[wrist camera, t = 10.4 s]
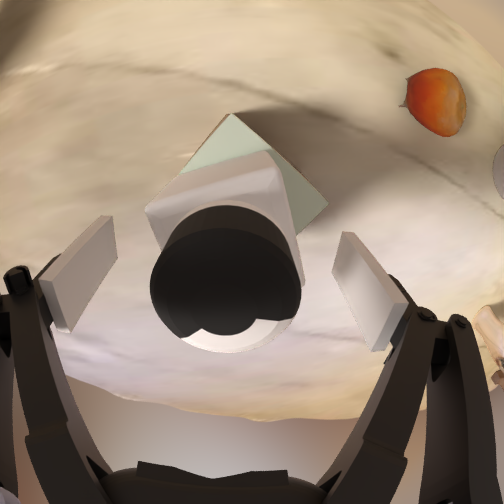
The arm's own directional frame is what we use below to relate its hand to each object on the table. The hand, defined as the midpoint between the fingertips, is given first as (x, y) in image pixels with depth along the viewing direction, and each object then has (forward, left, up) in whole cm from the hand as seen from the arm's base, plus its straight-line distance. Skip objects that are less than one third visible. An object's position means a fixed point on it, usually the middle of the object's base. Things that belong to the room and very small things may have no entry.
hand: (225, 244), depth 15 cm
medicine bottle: (0, 0, -6) cm, 6 cm away
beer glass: (+56, +13, -16) cm, 60 cm away
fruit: (+10, +23, -16) cm, 30 cm away
